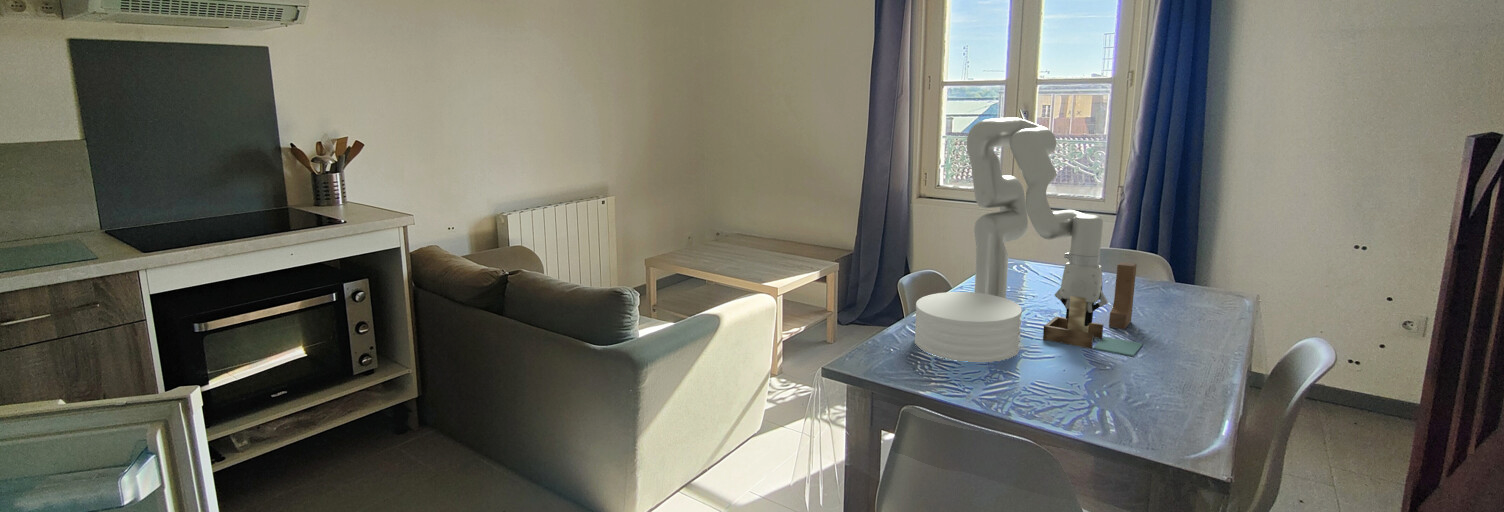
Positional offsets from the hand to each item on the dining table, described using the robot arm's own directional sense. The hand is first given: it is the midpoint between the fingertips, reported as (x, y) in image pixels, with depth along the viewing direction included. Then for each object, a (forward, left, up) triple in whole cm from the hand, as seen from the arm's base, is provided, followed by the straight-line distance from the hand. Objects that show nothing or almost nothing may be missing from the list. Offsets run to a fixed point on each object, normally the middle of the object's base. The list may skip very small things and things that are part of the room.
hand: (1078, 322), depth 218 cm
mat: (+11, 0, -5) cm, 12 cm away
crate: (-1, 0, -5) cm, 5 cm away
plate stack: (-24, -22, -5) cm, 33 cm away
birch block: (0, 0, -4) cm, 4 cm away
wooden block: (+6, +21, -5) cm, 22 cm away
